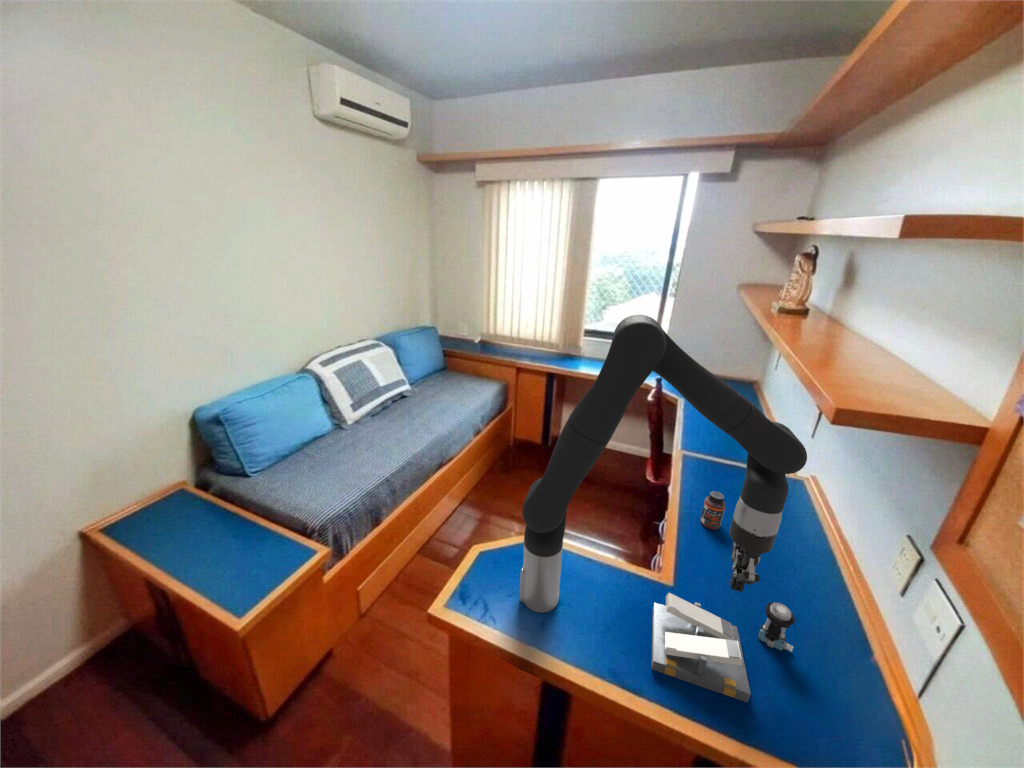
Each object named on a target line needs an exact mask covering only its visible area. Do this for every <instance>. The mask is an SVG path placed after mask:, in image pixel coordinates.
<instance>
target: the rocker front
mask: <svg viewBox="0 0 1024 768" xmlns="http://www.w3.org/2000/svg"><path fill="white" fill-rule="evenodd" d="M665 650H666V655H673V656H680V657H686V658H693V659H699V658H700V655H702V656H705V657H707V661H713V662H720V663H727V664H733V665H740V666H742V659H741V654H740V649H739V644H738V641H734V640H726V639H718V638H710V637H702V636H694V635H687V634H679V633H671V632H665Z"/></svg>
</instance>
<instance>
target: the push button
mask: <svg viewBox="0 0 1024 768" xmlns="http://www.w3.org/2000/svg"><path fill="white" fill-rule="evenodd" d="M765 615H766V617H767V619H766V621H765V623H764V624H761V625H760V628H759V630H758V636H757V637H758V638H757V639H758V640H760V641H762V642H763V643H765V644H766V645H767V646H768V647H770V648H775V649H777V650H779V651H783V650H787V651H789V652H791V653H793V650H794V646H793V645H791V644H789V642H786V635H785V632H786V631H787V630H786V629H788V628H791V626H792V625H793V624H795V622H796V621H795V620H796V618H795V615H794V613H793V612H792V611H791V610H790V608H789V607H787V606H786V605H785V604H783V603H780V602H774V601H773V602H772V601H771V602H768V603H766V604H765Z"/></svg>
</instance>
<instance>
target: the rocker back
mask: <svg viewBox="0 0 1024 768" xmlns="http://www.w3.org/2000/svg"><path fill="white" fill-rule="evenodd" d="M665 606H666V611H667V612H669V613H671V614H673V615H675V616H677V617H679V618H681V619H683V620H685V621H687V622H689V623H691V624H692V625H694V626H696V627H697V626H699V627H703V629H704V631H706V632H708V633H710V634H712V635H714V636H716V637H718V638H720V639H726V640H733V634H732V628H731V625H732V624H731V622H730V621H728V620H725V619H723V618H722V617H719V616H717V615H716V614H713V613H711V612H709V611H708V610H705V609H703V608H699V607H697V606H695V605H694V604H693V603H691V602H689V601H687V600H685V599H684V598H681V597H679V596H677V595H675V594H674V593H671V592H668V593H667V594H666V596H665Z"/></svg>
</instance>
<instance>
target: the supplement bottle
mask: <svg viewBox="0 0 1024 768" xmlns="http://www.w3.org/2000/svg"><path fill="white" fill-rule="evenodd" d="M724 499H725V496H724V494H723V493H721V492H719V491H710V493H709V496H706V497H705V499H704V503H703V506H702V511H701V514H700V518H699V521H700V523H701V525H702V526H704V527H705V528H706V529H710V530H719V529H720V528H721V525H722V521H723V518H724V514H725V510H726V502H725V501H724Z"/></svg>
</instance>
